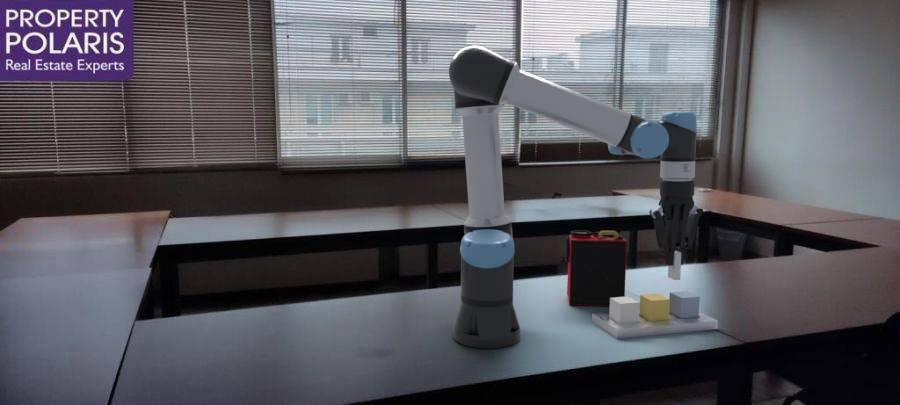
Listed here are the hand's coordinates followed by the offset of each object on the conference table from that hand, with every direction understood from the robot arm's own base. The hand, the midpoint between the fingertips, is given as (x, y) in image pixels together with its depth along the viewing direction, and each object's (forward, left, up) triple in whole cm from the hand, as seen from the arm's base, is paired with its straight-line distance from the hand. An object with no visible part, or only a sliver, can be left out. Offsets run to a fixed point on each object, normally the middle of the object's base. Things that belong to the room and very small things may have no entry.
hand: (674, 278), depth 142 cm
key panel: (-5, 0, -11) cm, 12 cm away
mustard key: (-5, 0, -9) cm, 11 cm away
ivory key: (-13, 0, -10) cm, 16 cm away
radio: (-10, +21, -12) cm, 26 cm away
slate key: (+3, 0, -9) cm, 10 cm away
